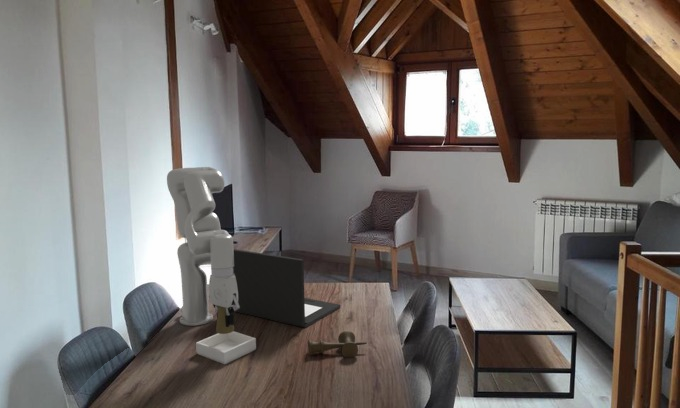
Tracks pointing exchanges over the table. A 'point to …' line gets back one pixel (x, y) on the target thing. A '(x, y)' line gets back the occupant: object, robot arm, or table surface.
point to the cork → (222, 322)
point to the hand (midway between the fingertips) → (225, 323)
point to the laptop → (276, 289)
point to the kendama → (337, 345)
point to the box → (226, 346)
